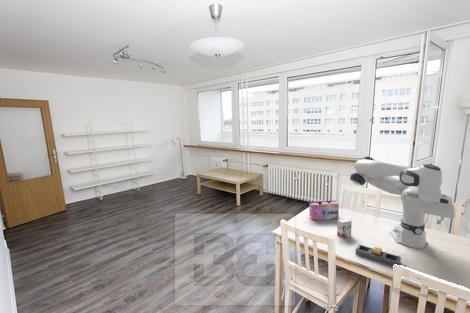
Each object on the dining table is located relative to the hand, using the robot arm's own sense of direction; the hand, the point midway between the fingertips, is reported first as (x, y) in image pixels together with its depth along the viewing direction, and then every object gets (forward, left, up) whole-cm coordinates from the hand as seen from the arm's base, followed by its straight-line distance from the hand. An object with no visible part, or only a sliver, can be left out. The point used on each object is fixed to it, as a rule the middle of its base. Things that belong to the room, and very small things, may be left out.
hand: (426, 221), depth 116 cm
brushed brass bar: (-11, -18, -29) cm, 36 cm away
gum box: (-68, -35, -29) cm, 82 cm away
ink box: (-38, -28, -29) cm, 55 cm away
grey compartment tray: (-11, -18, -29) cm, 36 cm away
